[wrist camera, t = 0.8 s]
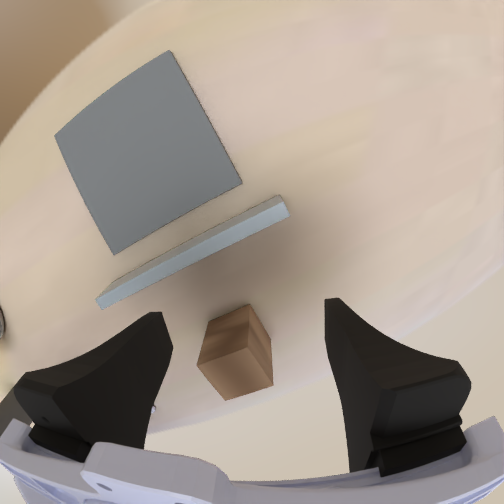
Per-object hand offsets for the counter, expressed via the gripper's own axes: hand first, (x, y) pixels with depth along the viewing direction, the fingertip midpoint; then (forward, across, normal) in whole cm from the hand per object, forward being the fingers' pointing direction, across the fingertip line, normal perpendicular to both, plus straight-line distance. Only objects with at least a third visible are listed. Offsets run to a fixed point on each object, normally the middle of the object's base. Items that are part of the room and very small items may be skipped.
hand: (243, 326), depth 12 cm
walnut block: (+10, +2, +8) cm, 13 cm away
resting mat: (+11, +8, -8) cm, 16 cm away
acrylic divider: (+10, +5, 0) cm, 12 cm away
